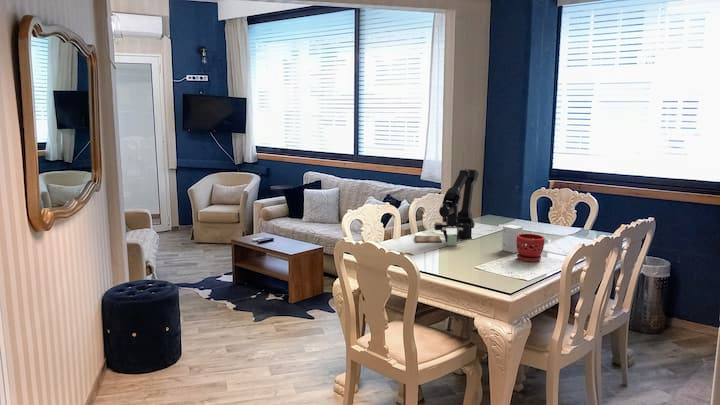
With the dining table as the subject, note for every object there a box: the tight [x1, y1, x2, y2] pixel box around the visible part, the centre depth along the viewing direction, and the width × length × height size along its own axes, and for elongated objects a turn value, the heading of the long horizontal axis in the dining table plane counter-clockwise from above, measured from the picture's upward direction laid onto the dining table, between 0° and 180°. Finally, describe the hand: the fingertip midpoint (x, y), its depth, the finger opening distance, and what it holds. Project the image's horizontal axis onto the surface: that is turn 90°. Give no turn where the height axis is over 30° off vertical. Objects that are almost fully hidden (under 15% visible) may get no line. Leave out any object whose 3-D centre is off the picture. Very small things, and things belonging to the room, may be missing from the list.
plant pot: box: [516, 233, 546, 263], centre depth 274 cm, size 13×13×12 cm
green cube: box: [445, 233, 458, 246], centre depth 304 cm, size 5×5×5 cm
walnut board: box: [414, 235, 442, 244], centre depth 314 cm, size 14×12×1 cm
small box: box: [501, 224, 524, 254], centre depth 290 cm, size 8×6×13 cm
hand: (451, 241), depth 304 cm, fingers closed on green cube, 5 cm apart
